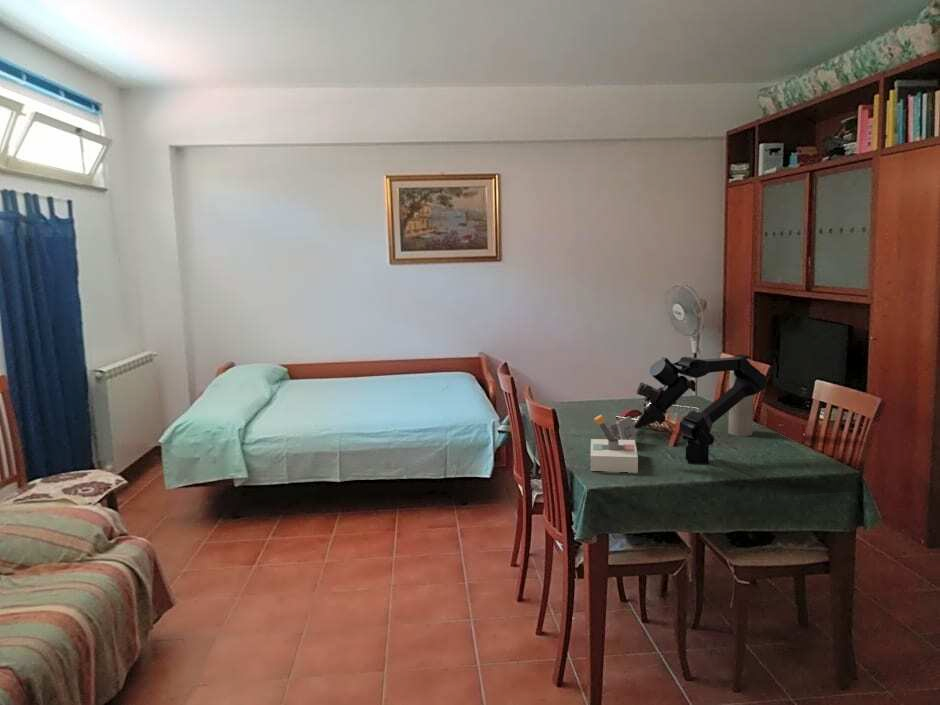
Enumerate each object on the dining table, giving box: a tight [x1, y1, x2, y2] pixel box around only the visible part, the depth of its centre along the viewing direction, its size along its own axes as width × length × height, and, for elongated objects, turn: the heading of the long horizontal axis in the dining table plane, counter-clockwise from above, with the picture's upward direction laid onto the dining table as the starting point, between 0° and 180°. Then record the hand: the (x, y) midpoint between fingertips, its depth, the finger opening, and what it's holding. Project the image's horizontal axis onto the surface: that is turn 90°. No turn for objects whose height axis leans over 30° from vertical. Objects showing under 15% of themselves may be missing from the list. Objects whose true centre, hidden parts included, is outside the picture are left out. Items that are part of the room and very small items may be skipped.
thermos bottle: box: [727, 354, 755, 437], centre depth 251 cm, size 8×8×28 cm
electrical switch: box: [610, 416, 638, 444], centre depth 244 cm, size 9×5×9 cm, turn 141°
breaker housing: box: [590, 438, 639, 474], centre depth 225 cm, size 14×18×8 cm
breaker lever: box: [594, 414, 617, 442], centre depth 224 cm, size 2×3×10 cm
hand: (635, 427), depth 222 cm, fingers closed
